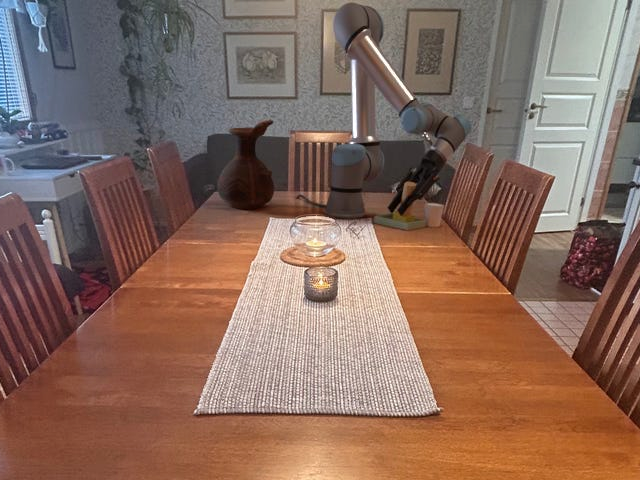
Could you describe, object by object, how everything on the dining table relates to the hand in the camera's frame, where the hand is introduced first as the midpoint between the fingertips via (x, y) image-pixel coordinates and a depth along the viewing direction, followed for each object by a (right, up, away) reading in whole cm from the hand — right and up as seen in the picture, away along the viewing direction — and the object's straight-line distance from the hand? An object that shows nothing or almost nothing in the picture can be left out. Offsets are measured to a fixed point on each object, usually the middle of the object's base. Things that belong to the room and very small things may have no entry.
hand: (394, 211), depth 204 cm
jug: (-54, +12, +26) cm, 61 cm away
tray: (+3, -2, +7) cm, 7 cm away
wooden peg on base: (+4, -1, +6) cm, 7 cm away
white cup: (+14, -2, +8) cm, 17 cm away
